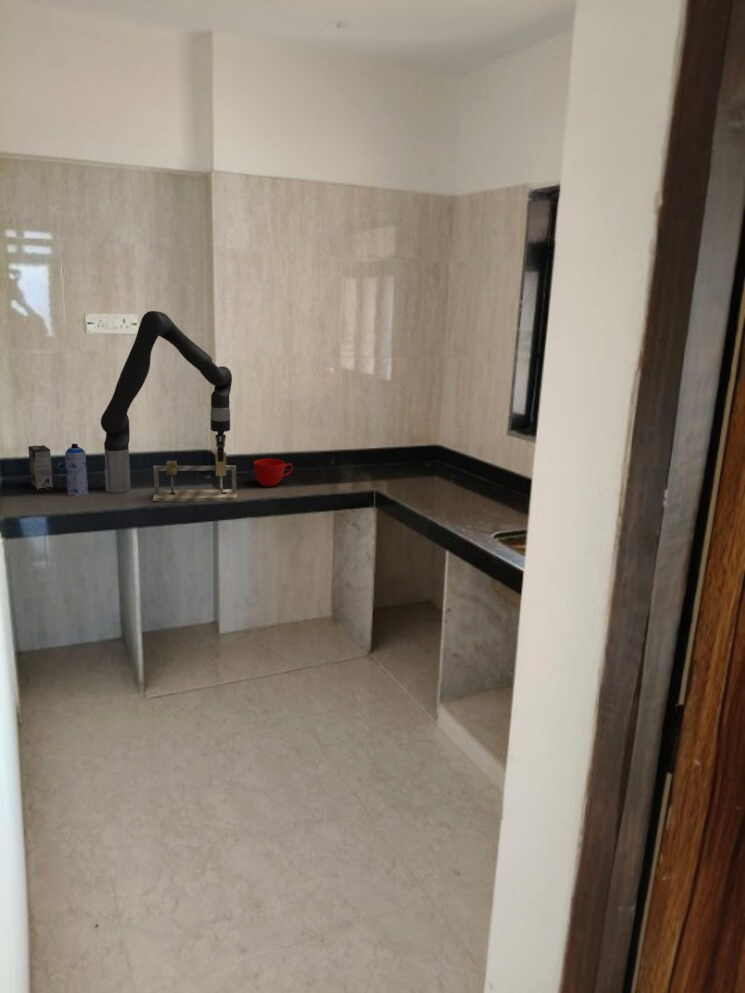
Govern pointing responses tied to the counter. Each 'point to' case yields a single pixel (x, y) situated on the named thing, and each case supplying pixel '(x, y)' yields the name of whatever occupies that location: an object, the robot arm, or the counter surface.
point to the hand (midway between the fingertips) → (220, 459)
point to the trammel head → (221, 469)
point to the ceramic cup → (270, 471)
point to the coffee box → (40, 466)
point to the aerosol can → (76, 470)
